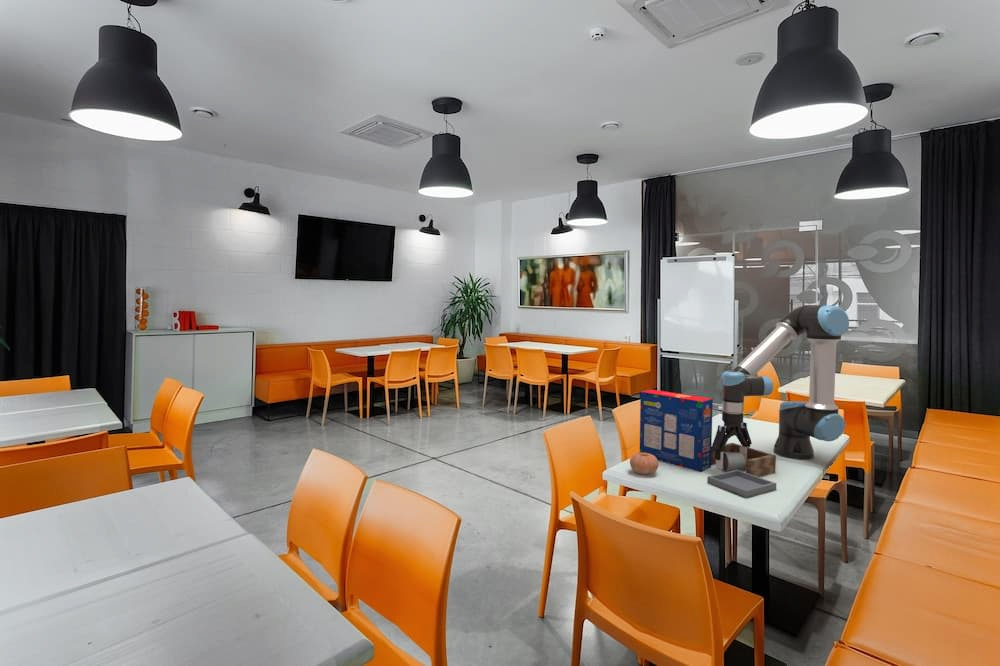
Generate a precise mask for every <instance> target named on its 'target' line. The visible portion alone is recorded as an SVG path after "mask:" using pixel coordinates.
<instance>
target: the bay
mask: <svg viewBox="0 0 1000 666" xmlns="http://www.w3.org/2000/svg"><path fill="white" fill-rule="evenodd" d="M740 446H742V445H741V444H739V443H735V442H729V443H726V444H725V446H724V448H723V450H722V452H731V453H740ZM719 449H720V448H719ZM776 465H777V454H776V455H775V454H772V453H769V452H765V451H763V450H758V449H755V448H752V447H747V465H746V469H745V470H746V471H745V472H746V473H748V474H751V475H754V476H757V477H760V478H763V477H765V476H769V475H774V474H776V470H777V469H776V467H777V466H776ZM711 466H716V459H715V451H714V450H712V449H711Z"/></svg>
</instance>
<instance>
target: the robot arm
mask: <svg viewBox="0 0 1000 666" xmlns="http://www.w3.org/2000/svg"><path fill="white" fill-rule="evenodd" d="M849 326H850V319H849V316H848V313H847V312H846V311H844V309H843V308H841V307H840V306H836V305H828V304H826V305H824V304H823V305H820V304H818V305H817V304H816V305H812V304H805V305H801V306H798V307H796V308H795V309H792V310H791V311H789V312H788V313H787V314H786V315H785V316H783V317H782V318H781V319H780V320H779V321H777V322H776V324H775V328H774V329H773V330H772V331H771V332H770V333H769V334H768V335H767V336H766V337H765V338H764V339H763V340H762V341H761V342H760V343H759V344H757V346H755V348H754V349H753V350H752V351H751V352H749V354H748V355H747V356H746V357H745V358H744V359H743V360H742V361H741V362H740V363H739V364H737V365H736V366H735V367H734V368H733V369H732V370H725V371H724V372H722V374H721V376H720V383H721V385H722V412H721V420H722V422H723V425H720V424H719V425H718V426H717V429H716V430H717V431H716V433H715V436H714V439H713V442H712V446H711V449H712V450H714V451H715V459H716V464H715V468H718V469H720V470H721V469H723V452H722V450H723V448H724V446H725V444H728V443H727V442H728V441H729V439H730V438H731V437H734V436H736V439H738V442H739V444H740V445H742V446H740V453H741V454H743V455H744V456H745V458H746V461H747V447H749V448H751V445H752V443H753V441H752V439H751V436H750V433H749V430H748V424H747V422H744V411H745V409H744V407H745V406H744V405H745V397H765V396H770V395H771V394H772V393H773V391H774V382H773V380H772V378H770V377H769V376H762V375H761V376H757V374H758V373H759V372H760V371H761V370H762V369H763V368H765V366H766V365H767V364H768V363H769V362H771V360H772V359H773V358H774V357H775V356H776V355H778V354H779V352H780V351H781V350H782V349H783V348H784V347H786V346H787V344H788V343H789V342H790V341H791V340H796V339H797V338H798V337H799V336H801V335H804V334H806V339H807V340H808V341H809V342H810V358H809V359H810V360H809V362H810V364H809V388H808V389H809V393H808V396H809V397H808V401H802V400H801V401H799V400H797V401H796V400H795V401H793V400H791V401H790V400H789V401H782V402H781V403H780V404H779V410H778V414H779V415H778V416H779V417H778V436H777V439H776V440H775V443H774V445H773V453H774V454H776V456H777V455H778V456H781V457H784V458H787V459H794V460H795V459H796V460H811V459H814V458H815V450H814V448H813V445H812V441H811V438H814V439H816V440H818V441H823V442H833V441H835V440H838V439H839V438H840V437H841V436H842V435H843V433H844V431H845V428H846V420H845V419H844V418H843V416H842V415H840V413H839V406H838V405H836V404H835V393H836V391H835V389H836V388H835V386H836V359H837V358H836V357H837V343H838V342H839V343H840V341H841V340H842V335H844V334H845V333H846V332H847V330H849V328H850V327H849ZM810 437H811V438H810ZM719 448H720V449H719Z"/></svg>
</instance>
